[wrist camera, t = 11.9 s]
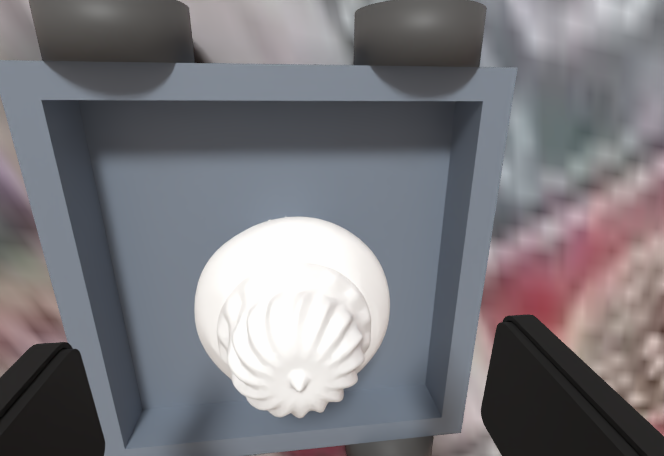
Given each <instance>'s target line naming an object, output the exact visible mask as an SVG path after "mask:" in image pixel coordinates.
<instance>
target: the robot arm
mask: <svg viewBox="0 0 664 456" xmlns="http://www.w3.org/2000/svg"><path fill="white" fill-rule="evenodd" d="M481 416H482V420H483V423H484V425H485V427H486V429H487V431H488V432H489V434H490V436H491V437H492V439H493V441H494V443H495V444H496V446H497V448H498V450H499V451H500V453H501V455H502V456H664V436H663V435H662V434H661V433H660V432H659V431H657V430H656V429H655V428H654V427H653V426H652V425H651V424H650V423H649V422H648V421H647V420H646V419H645V418H643V417H642V416H641V415H640V414H639V413H638V412H637V411H636V410H635V409H634V408H633V407H632V406H631V405H630V404H628V403H627V402H626V401H625V400H624V399H623V398H622V397H621V396H620V395H619V394H618V393H617V392H616V391H615V390H613V389H612V388H611V387H610V386H609V385H608V384H607V383H606V382H605V381H604V380H603V379H602V378H601V377H599V376H598V375H597V374H596V373H595V372H594V371H593V370H592V369H591V368H590V367H589V366H588V365H587V364H586V363H584V362H583V361H582V360H581V359H580V358H579V357H578V356H577V355H576V354H575V353H574V352H573V351H572V350H571V349H569V348H568V347H567V346H566V345H565V344H564V343H563V342H562V341H561V340H560V339H559V338H558V337H557V336H555V335H554V334H553V333H552V332H551V331H550V330H549V329H548V328H547V327H546V326H545V325H544V324H543V323H542V322H540V321H539V320H538V319H537V318H536V317H535V316H533V315H514V316H507V317H505V318H504V320H503V322H502V323H499V324H498V325H497V328H496V333H495V338H494V344H493V349H492V354H491V359H490V365H489V370H488V375H487V380H486V386H485V391H484V396H483V401H482V407H481ZM104 453H105V439H104V435H103V432H102V428H101V425H100V421H99V417H98V414H97V410H96V407H95V403H94V399H93V396H92V392H91V389H90V385H89V382H88V378H87V374H86V371H85V367H84V364H83V360H82V357H81V354H80V351H79V350H78V349H73V348H72V346H71V345H70V344H69V343H66V342H60V343H44V344H36V345H33V346H32V347H30V348H29V349H28V350H27V351H26V352H25V353H24V354H23V355H22V356H21V357H20V358H19V359H18V360H17V361H16V362H15V363H14V364H13V365H12V366H11V367H10V368H9V369H8V370H7V371H6V372H5V374H4V375H3V376H2V377H1V378H0V456H104Z"/></svg>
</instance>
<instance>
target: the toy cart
mask: <svg viewBox="0 0 664 456" xmlns="http://www.w3.org/2000/svg"><path fill="white" fill-rule="evenodd" d="M29 4H30V8H31V13H32V17H33V21H34V26H35V30H36V34H37V39H38V43H39V47H40V52H41V56H42V60H43V61H14V60H0V95H1V99H2V102H3V106H4V110H5V113H6V117H7V121H8V124H9V128H10V132H11V135H12V139H13V143H14V146H15V150H16V154H17V157H18V161H19V165H20V168H21V172H22V176H23V180H24V183H25V187H26V191H27V194H28V198H29V202H30V205H31V209H32V213H33V216H34V220H35V224H36V227H37V231H38V235H39V238H40V242H41V246H42V249H43V253H44V257H45V260H46V264H47V268H48V271H49V275H50V279H51V282H52V286H53V290H54V293H55V297H56V301H57V304H58V308H59V312H60V315H61V319H62V323H63V326H64V330H65V334H66V337H67V341H68V343H69V344H70V345H71V346H72V348H73V349H78V350H79V351H80V354H81V357H82V360H83V364H84V367H85V371H86V374H87V378H88V382H89V385H90V389H91V392H92V396H93V399H94V403H95V407H96V410H97V414H98V417H99V421H100V425H101V428H102V432H103V435H104V439H105V453H104V456H246V455H256V454H265V453H275V452H284V451H293V450H303V449H312V448H322V447H331V446H340V445H345V447H346V454H347V456H431V453H432V444H433V436H434V435H444V434H453V433H461V429H462V423H463V416H464V410H465V403H466V397H467V390H468V384H469V377H470V371H471V365H472V358H473V352H474V345H475V339H476V332H477V326H478V319H479V313H480V307H481V300H482V294H483V287H484V281H485V274H486V268H487V261H488V255H489V249H490V242H491V236H492V229H493V223H494V216H495V210H496V203H497V197H498V191H499V184H500V178H501V171H502V165H503V158H504V152H505V145H506V139H507V133H508V126H509V120H510V113H511V107H512V100H513V94H514V87H515V81H516V75H517V68H508V67H479V65H480V57H481V49H482V41H483V33H484V25H485V17H486V9H487V8H486V6H484V5H483V4H481V3H478V2H475V1H470V0H392V1H385V2H380V3H375V4H371V5H368V6H365V7H362V8H360V9H358V10H357V11H356V12H355V27H354V65H297V64H226V63H195V60H194V50H193V41H192V32H191V23H190V13H189V8H188V6H187V5H185V4H184V3H182V2H179V1H177V0H29ZM284 217H311V218H317V219H322V220H325V221H328V222H331V223H333V224H336V225H338V226H340V227H342V228H344V229H346V230H348V231H349V232H351V233H352V234H353V235H355V236H356V237H358V238H359V239H360V240H361V241H362V242H363V243H365V244H366V245H367V246H368V248H369V249H370V250H371V251H372V252H373V254H374V255H375V256H376V258H377V259H378V261H379V263H380V265H381V267H382V269H383V271H384V274H385V277H386V280H387V284H388V289H389V296H390V314H389V322H388V326H387V330H386V333H385V336H384V338H383V341H382V343H381V345H380V347H379V348H378V350H377V351H376V353H375V354H374V356H373V357H372V358H371V360H370V361H369V362H368V363H367V364H366V365H365V366H364V368H363V369H362V370H361V371H359V372H358V373H357V376H358V381H357V383H356V384H354V385H353V386H351V387H348V388H344V389H343V390H344V397H343V400H341V401H340V402H329V403H328V404H327V406H326V408H325V410H324V412H321V413H319V412H316V411H309V412H308V413H307V414H306V415H305V416H304V417H303V418H297V417H295V416H294V415H293V414H292V413H290V414H288V415H286V416H284V417H275V416H273V415H272V414H271V413H269V411H268V410H259V409H256V408H255V407H253V406H252V405H251V404H250V403H249V402H248V401H247V399H246V396H244V395H242V394H241V393H240V392H239V391H238V390H237V389H236V388H235V387H234V385H233V382H232V380H231V379H230V378H229V377H228V376H227V375H225V374H224V373H223V372H222V371H221V370H220V369H219V368H218V367H217V365H216V364H215V363H214V362H213V361H212V359H211V358H210V357H209V355H208V354H207V352H206V351H205V349H204V347H203V345H202V343H201V341H200V339H199V336H198V333H197V329H196V323H195V313H194V308H195V294H196V289H197V285H198V281H199V278H200V275H201V273H202V271H203V269H204V267H205V265H206V264H207V262H208V261H209V259H210V258H211V257H212V255H213V254H214V253H215V252H216V251H217V250H218V249H219V248H220V247H221V246H222V245H223V244H225V243H226V242H227V241H229V240H230V239H232V238H233V237H234V236H236V235H238V234H239V233H241V232H243V231H245V230H246V229H248V228H250V227H252V226H255V225H257V224H260V223H263V222H266V221H268V220H273V219H278V218H284Z"/></svg>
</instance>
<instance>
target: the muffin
mask: <svg viewBox="0 0 664 456" xmlns="http://www.w3.org/2000/svg"><path fill="white" fill-rule="evenodd" d="M194 313H195V323H196V329H197V333H198V336H199V339H200V341H201V343H202V345H203V347H204V349H205V351H206V352H207V354H208V355H209V357H210V358H211V359H212V361H213V362H214V363H215V364H216V365H217V367H218V368H219V369H220V370H221V371H222V372H223V373H224V374H225V375H227V376H228V377H229V378H230V379H231V380H232V382H233V385H234V387H235V388H236V389H237V390H238V391H239V392H240V393H241V394H242V395H244V396H246V399H247V401H248V402H249V403H250V404H251V405H252V406H253V407H255V408H256V409H259V410H268V411H269V413H271V414H272V415H273V416H275V417H284V416H286V415H288V414H290V413H292V414H293V415H294V416H295V417H297V418H303V417H304V416H305V415H306V414H307V413H308V412H309V411H316V412H319V413H321V412H324V410H325V408H326V406H327V404H328V403H329V402H340V401H341V400H343V397H344V390H343V389H344V388H348V387H351V386H353V385H354V384H356V383H357V381H358V376H357V373H358V372H359V371H361V370H362V369H363V368H364V366H365V365H366V364H367V363H368V362H369V361H370V360H371V358H372V357H373V356H374V354H375V353H376V351H377V350H378V348H379V347H380V345H381V343H382V341H383V338H384V336H385V333H386V330H387V326H388V322H389V314H390V296H389V289H388V284H387V280H386V277H385V274H384V271H383V269H382V267H381V265H380V263H379V261H378V259H377V258H376V256H375V255H374V254H373V252H372V251H371V250H370V249H369V248H368V246H367V245H366V244H365V243H363V242H362V241H361V240H360V239H359V238H358V237H356V236H355V235H353V234H352V233H351V232H349V231H348V230H346V229H344V228H342V227H340V226H338V225H336V224H333V223H331V222H328V221H325V220H322V219H317V218H311V217H284V218H278V219H273V220H268V221H266V222H263V223H260V224H257V225H255V226H252V227H250V228H248V229H246V230H245V231H243V232H241V233H239V234H238V235H236V236H234V237H233V238H232V239H230V240H229V241H227V242H226V243H225V244H223V245H222V246H221V247H220V248H219V249H218V250H217V251H216V252H215V253H214V254H213V255H212V257H211V258H210V259H209V261H208V262H207V264H206V265H205V267H204V269H203V271H202V273H201V275H200V278H199V281H198V285H197V289H196V294H195V308H194Z"/></svg>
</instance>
